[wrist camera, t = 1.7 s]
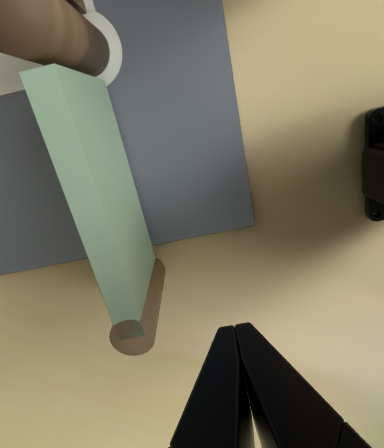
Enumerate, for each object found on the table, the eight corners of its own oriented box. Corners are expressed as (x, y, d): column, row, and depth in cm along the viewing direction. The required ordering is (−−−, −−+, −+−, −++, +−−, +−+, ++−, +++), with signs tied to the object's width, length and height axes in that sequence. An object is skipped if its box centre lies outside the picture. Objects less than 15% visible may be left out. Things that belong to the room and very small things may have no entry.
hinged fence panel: (112, 78, 15) (66, 60, 10) (168, 281, 19) (159, 351, 14) (74, 87, 15) (6, 75, 10) (138, 286, 19) (117, 358, 14)
